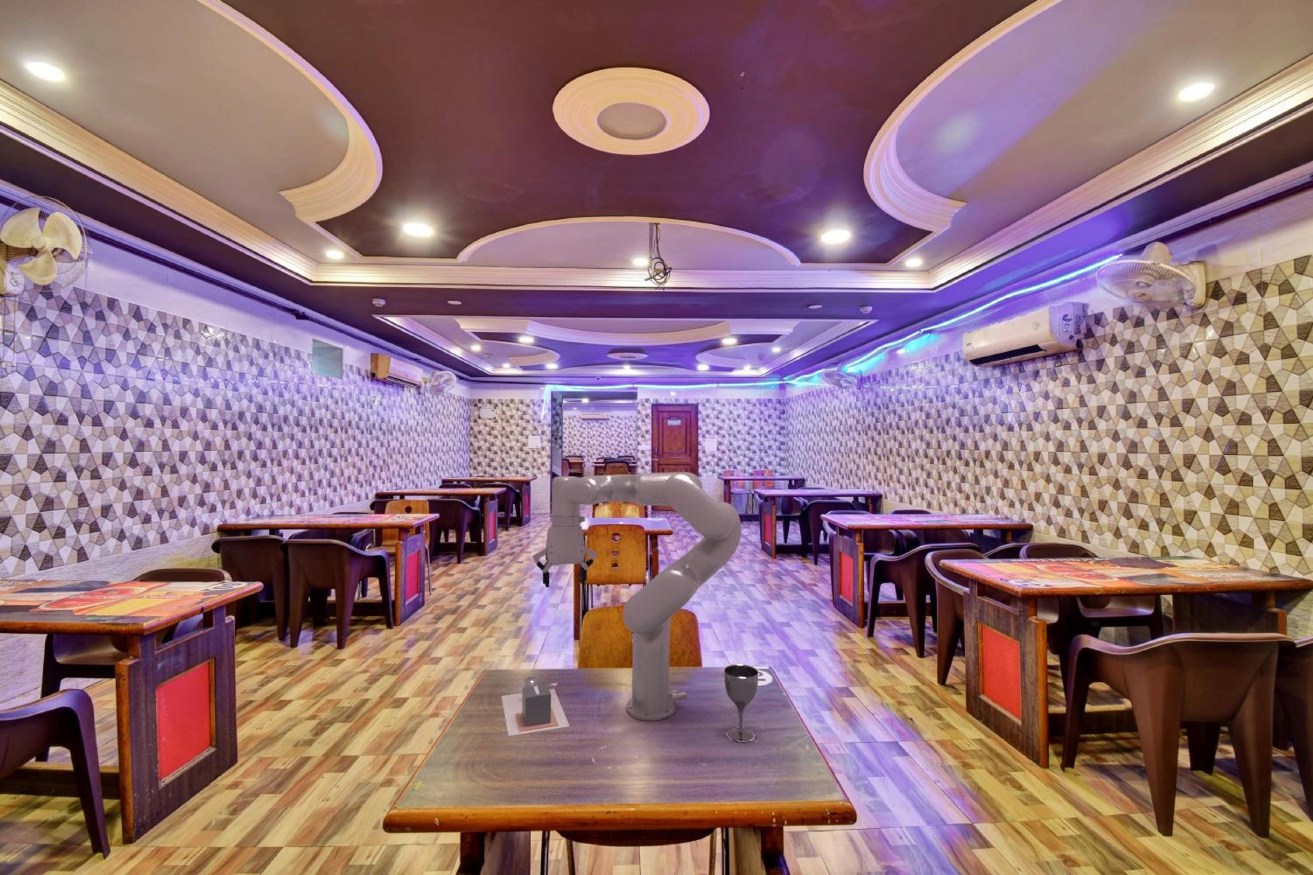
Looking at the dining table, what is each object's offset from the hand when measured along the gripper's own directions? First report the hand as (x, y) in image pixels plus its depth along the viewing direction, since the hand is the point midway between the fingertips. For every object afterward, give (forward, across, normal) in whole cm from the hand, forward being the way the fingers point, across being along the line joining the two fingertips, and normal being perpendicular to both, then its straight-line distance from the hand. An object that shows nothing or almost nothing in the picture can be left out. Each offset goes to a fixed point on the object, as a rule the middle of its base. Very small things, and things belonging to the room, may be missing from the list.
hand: (564, 584), depth 151 cm
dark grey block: (+28, +9, +14) cm, 33 cm away
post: (+29, +9, +2) cm, 30 cm away
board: (+30, +9, +8) cm, 33 cm away
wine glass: (+31, -36, +33) cm, 58 cm away
